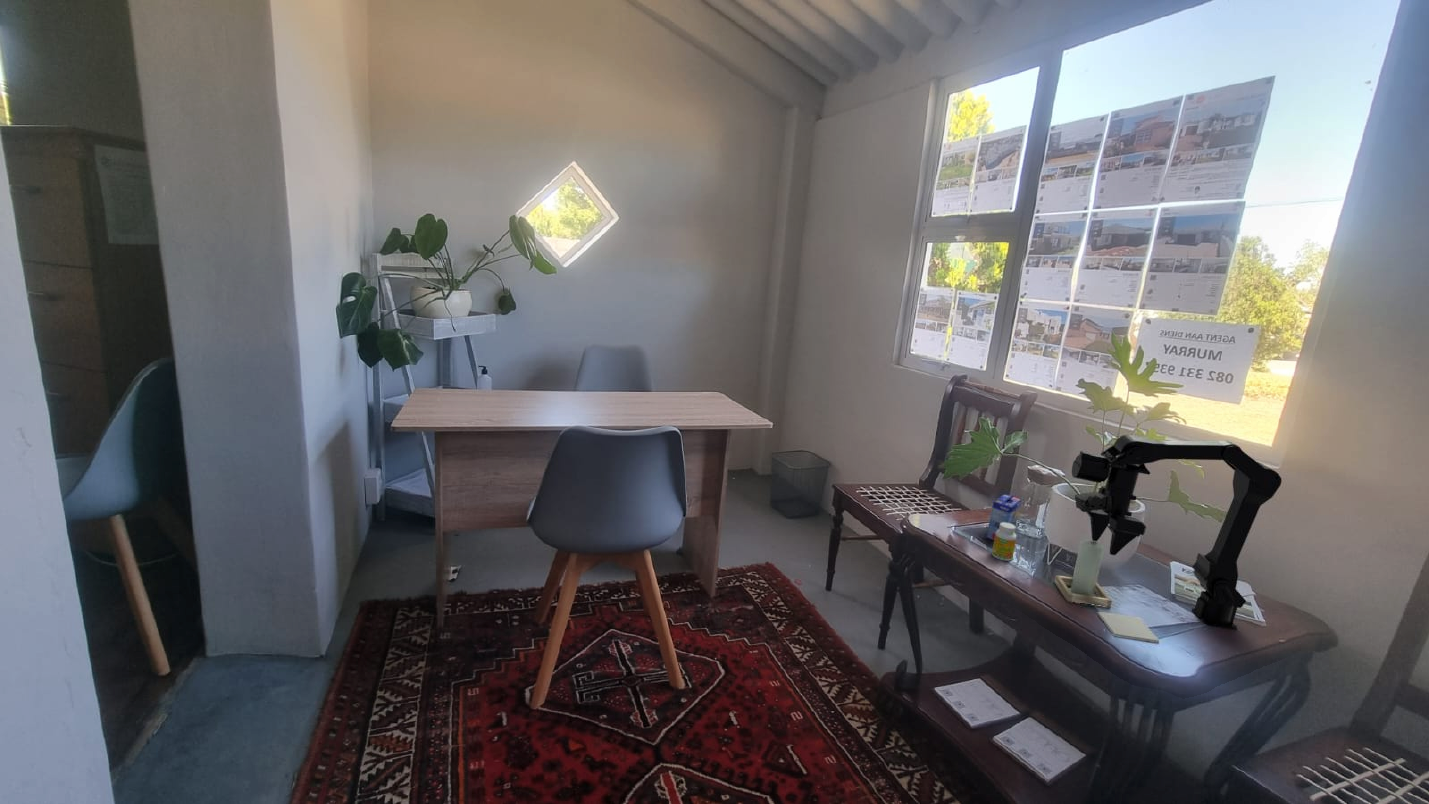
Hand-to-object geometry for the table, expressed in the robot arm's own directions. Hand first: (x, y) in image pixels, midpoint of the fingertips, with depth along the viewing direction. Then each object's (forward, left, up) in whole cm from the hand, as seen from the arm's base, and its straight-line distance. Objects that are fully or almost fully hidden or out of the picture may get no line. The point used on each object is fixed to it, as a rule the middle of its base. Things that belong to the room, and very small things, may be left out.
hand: (1103, 547), depth 143 cm
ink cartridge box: (+14, -32, -15) cm, 38 cm away
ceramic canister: (+2, -2, -14) cm, 15 cm away
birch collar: (+2, -2, -14) cm, 15 cm away
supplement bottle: (+17, -18, -15) cm, 29 cm away
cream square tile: (-3, +11, -14) cm, 18 cm away
